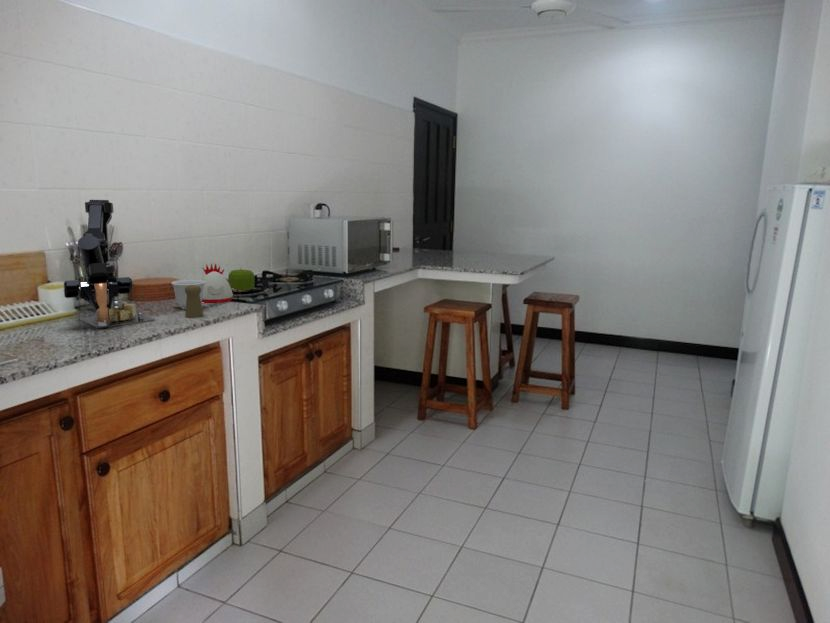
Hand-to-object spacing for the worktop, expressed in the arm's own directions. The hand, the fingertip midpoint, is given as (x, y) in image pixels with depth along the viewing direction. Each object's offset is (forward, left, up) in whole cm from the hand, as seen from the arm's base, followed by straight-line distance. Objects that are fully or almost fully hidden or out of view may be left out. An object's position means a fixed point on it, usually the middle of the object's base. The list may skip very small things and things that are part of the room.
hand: (103, 308), depth 177 cm
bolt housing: (-12, +8, -7) cm, 16 cm away
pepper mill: (-2, +30, -7) cm, 31 cm away
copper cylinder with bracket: (-8, +5, -6) cm, 11 cm away
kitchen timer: (-26, +50, -7) cm, 57 cm away
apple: (-36, +67, -7) cm, 77 cm away
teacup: (-15, +35, -7) cm, 38 cm away
